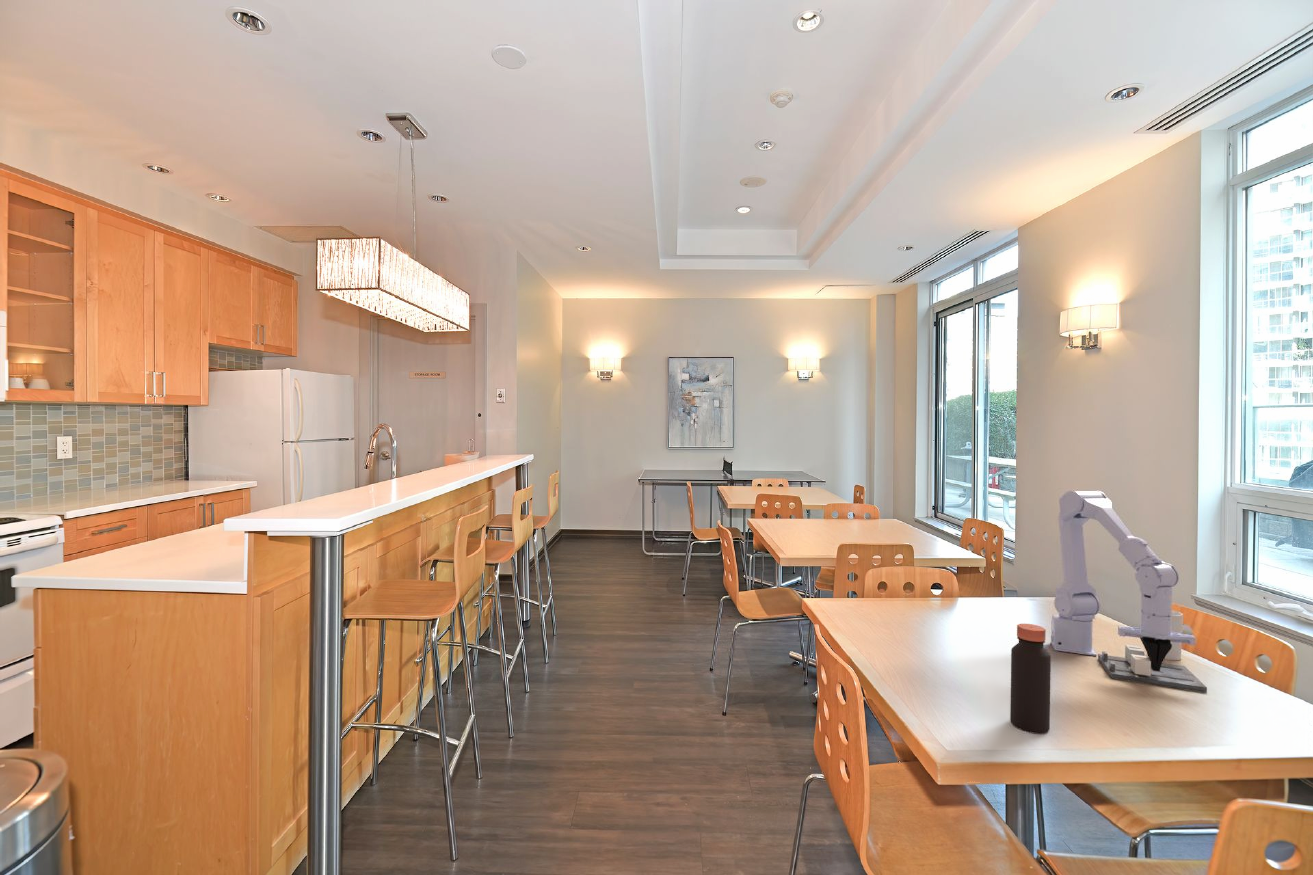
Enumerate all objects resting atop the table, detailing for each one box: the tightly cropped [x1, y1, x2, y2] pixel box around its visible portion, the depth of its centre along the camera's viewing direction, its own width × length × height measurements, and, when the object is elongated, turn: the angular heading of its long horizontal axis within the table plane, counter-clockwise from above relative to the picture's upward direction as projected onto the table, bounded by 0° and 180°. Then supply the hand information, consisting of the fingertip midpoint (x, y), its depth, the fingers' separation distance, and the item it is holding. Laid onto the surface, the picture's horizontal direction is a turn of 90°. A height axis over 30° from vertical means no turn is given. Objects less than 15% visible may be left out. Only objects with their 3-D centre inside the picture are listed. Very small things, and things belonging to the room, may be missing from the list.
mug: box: [1164, 609, 1184, 661], centre depth 167 cm, size 10×7×12 cm, turn 154°
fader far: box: [1124, 644, 1145, 664], centre depth 157 cm, size 3×4×4 cm
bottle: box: [1009, 623, 1052, 734], centre depth 124 cm, size 7×7×20 cm
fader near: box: [1131, 654, 1151, 676], centre depth 150 cm, size 3×4×4 cm
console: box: [1097, 650, 1208, 694], centre depth 152 cm, size 18×15×3 cm
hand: (1155, 669), depth 149 cm, fingers closed
